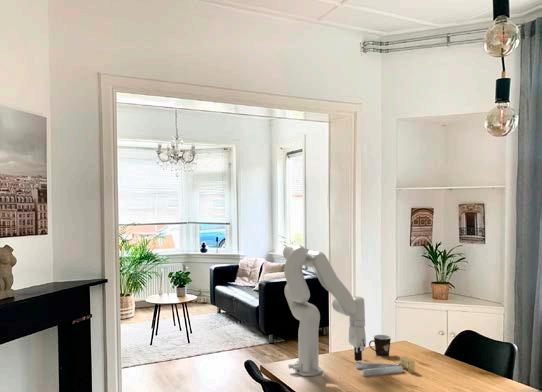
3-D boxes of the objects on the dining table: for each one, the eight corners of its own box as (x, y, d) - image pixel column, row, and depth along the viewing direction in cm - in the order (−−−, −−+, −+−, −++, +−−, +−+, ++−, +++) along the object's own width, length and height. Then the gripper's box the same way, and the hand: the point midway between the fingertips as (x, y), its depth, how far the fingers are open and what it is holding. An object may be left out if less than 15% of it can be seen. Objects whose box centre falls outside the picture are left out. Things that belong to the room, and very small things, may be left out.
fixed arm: (363, 376, 189) (363, 370, 189) (362, 375, 191) (362, 369, 191) (402, 372, 194) (402, 366, 194) (401, 371, 196) (401, 365, 196)
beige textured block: (409, 373, 193) (408, 361, 193) (400, 367, 200) (400, 356, 200) (414, 372, 194) (414, 361, 194) (405, 367, 201) (405, 356, 201)
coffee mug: (389, 354, 224) (389, 335, 225) (392, 359, 216) (392, 339, 217) (367, 353, 226) (367, 334, 226) (369, 358, 217) (369, 338, 218)
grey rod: (356, 368, 199) (356, 362, 199) (356, 367, 201) (355, 361, 201) (402, 370, 196) (402, 364, 196) (401, 369, 198) (401, 363, 198)
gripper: (343, 319, 214) (344, 356, 213) (357, 326, 199) (358, 366, 198) (357, 318, 215) (358, 354, 215) (371, 325, 201) (372, 364, 200)
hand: (358, 360), depth 206 cm, fingers closed
